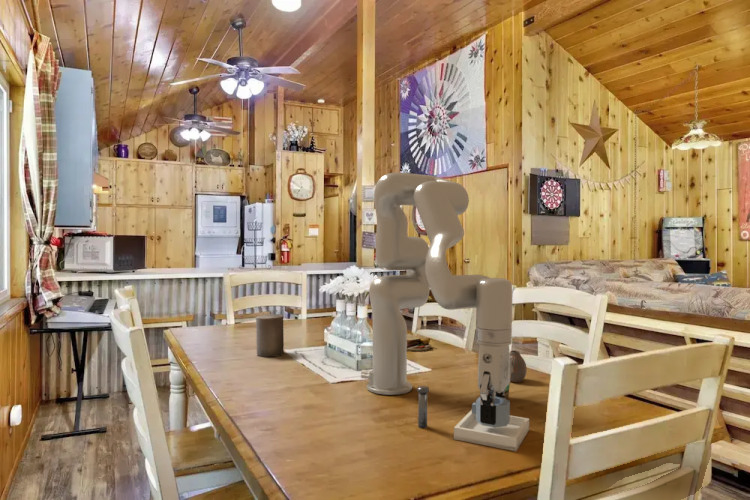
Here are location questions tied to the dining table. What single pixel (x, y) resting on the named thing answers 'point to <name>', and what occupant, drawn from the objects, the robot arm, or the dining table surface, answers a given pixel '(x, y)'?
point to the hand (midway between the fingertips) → (492, 417)
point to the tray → (492, 432)
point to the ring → (501, 412)
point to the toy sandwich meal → (417, 343)
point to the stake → (422, 406)
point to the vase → (517, 367)
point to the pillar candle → (269, 335)
